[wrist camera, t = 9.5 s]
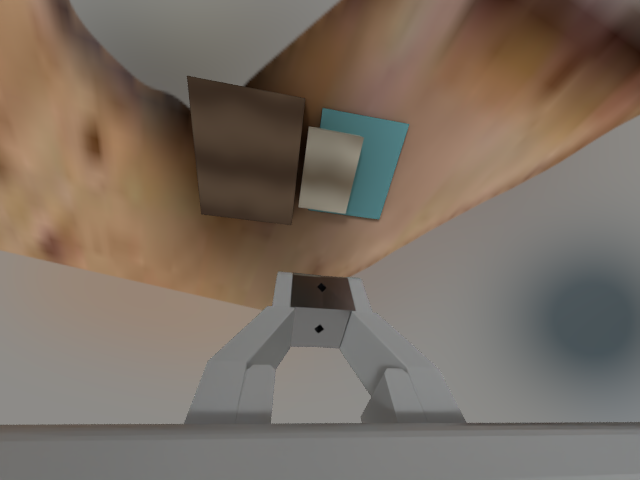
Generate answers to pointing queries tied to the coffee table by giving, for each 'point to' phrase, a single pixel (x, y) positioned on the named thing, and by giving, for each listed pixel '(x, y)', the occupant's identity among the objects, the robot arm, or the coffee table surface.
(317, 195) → the birch tile
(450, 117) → the coffee table surface
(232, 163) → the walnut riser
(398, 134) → the teal mat
